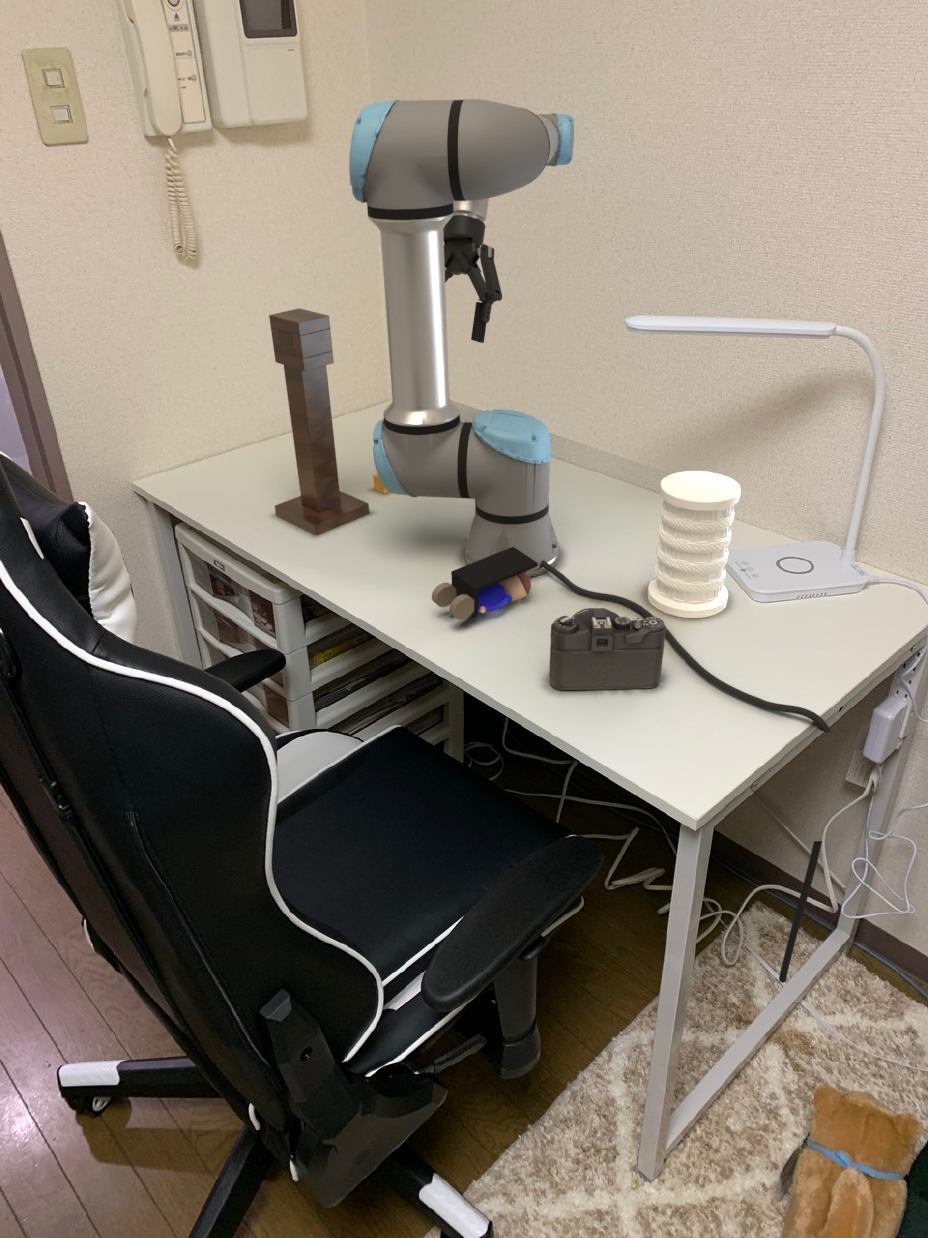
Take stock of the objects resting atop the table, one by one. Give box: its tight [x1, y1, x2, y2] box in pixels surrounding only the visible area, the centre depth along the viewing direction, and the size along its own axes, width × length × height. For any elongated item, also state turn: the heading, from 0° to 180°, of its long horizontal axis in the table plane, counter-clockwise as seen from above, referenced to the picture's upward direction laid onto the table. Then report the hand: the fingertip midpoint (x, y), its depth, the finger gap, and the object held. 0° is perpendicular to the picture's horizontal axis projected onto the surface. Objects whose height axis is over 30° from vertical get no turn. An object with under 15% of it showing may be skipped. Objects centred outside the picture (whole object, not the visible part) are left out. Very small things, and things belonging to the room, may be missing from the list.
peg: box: [372, 473, 390, 495], centre depth 175 cm, size 18×3×3 cm, turn 135°
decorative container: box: [647, 470, 742, 619], centre depth 129 cm, size 12×12×18 cm
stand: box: [268, 308, 370, 536], centre depth 153 cm, size 12×12×35 cm
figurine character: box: [431, 547, 538, 626], centre depth 131 cm, size 7×8×15 cm
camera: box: [548, 607, 667, 691], centre depth 116 cm, size 14×11×10 cm
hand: (449, 340), depth 165 cm, fingers open, 13 cm apart
